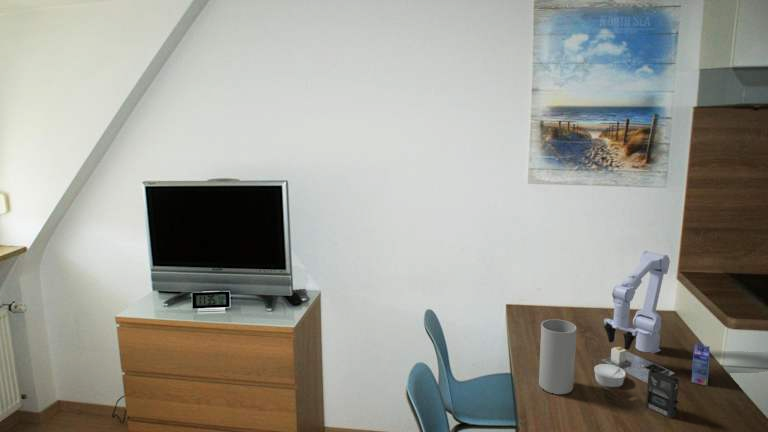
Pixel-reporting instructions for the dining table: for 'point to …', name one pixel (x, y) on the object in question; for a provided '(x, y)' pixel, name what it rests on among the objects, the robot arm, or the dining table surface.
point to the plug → (618, 355)
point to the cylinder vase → (557, 356)
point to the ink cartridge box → (700, 364)
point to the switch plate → (638, 366)
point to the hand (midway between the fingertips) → (619, 345)
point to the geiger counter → (662, 393)
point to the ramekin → (609, 375)
